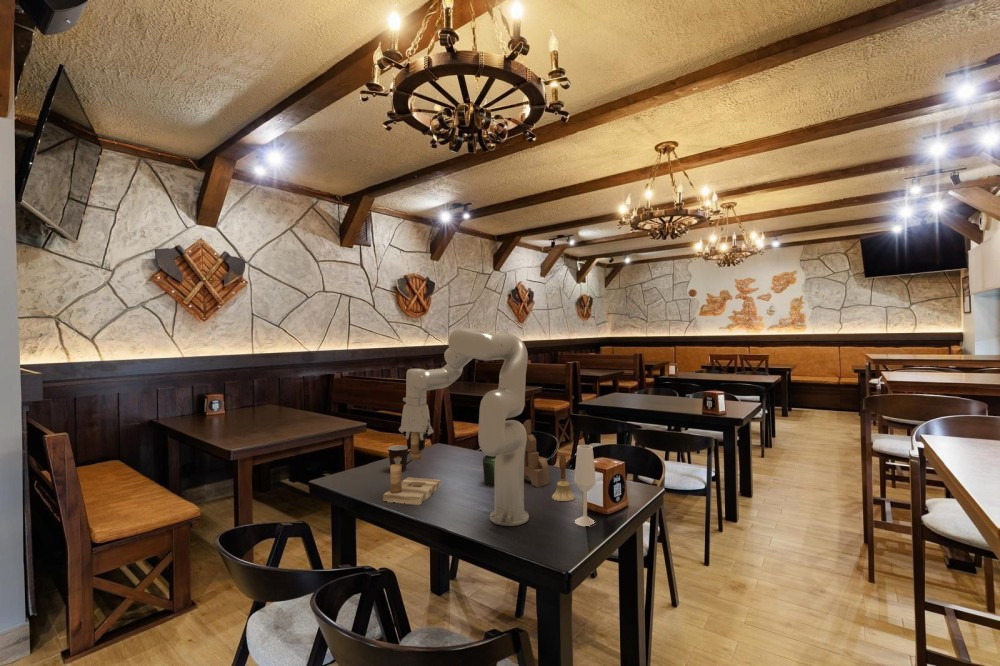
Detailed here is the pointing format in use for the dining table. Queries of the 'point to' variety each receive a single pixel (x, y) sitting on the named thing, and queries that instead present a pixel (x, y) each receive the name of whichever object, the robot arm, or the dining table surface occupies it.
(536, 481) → the wooden toy
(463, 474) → the dining table surface
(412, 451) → the peg
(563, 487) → the hand bell
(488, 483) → the potion bottle
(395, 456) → the coffee mug
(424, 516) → the dining table surface
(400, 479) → the board
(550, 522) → the dining table surface
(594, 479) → the champagne flute
